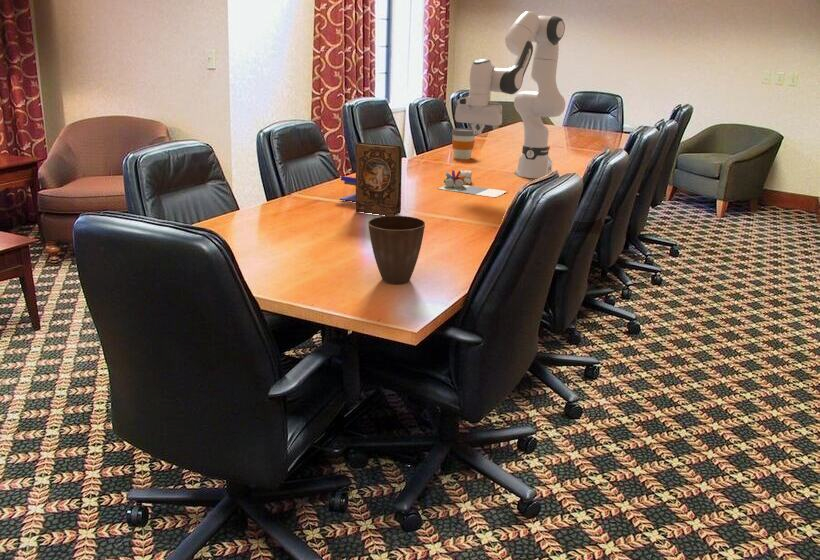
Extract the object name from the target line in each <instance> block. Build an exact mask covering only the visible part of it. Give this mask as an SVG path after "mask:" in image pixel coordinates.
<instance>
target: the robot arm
mask: <svg viewBox="0 0 820 560" xmlns="http://www.w3.org/2000/svg"><path fill="white" fill-rule="evenodd" d="M565 29H566V25H565V22H564V20H563V19H562V18H561V17H559V16H556V15H554V16H550V15H545V14H544V15H537V13H536V12H533V11H530V10H528V11H524V12H522V13H521V14H520V15H519V16H518V18H516V20H515V21H514V22H513V23H512V25H511V27H510V28H509V29H508V31H507V32H506V35H505V37H504V38H505V39H504V40H505V46H506V48H507V50H508V51H510V53H511V54H513V55H514V56H517V57H516V60H515V62H514V64H513V66H512V67H509V68H508V67H505V68H504V67H496V66H494V65H493V64H492V61H491V59H487V58H479V59H478V58H477V59H475V60H473V61H472V63H471V66H470V72H469V92H468V95H467V96H464V97H461V98H458V99H457V101H456V102H457V105H456V107H455V112H454V113H455V114H454V120H455V122H457V123H465V124H470V126H471V129H473V131H474V133H473V134H474V135H475V136H481V135H482V133H483V130H484V129H485V125H486V126H495V127H496V126H497V127H499V126H501V125H502V124H503V104H502V103H500V101H499V102H498V101H497V102H495V101H491V96H492V95H491V92H493V93H504V94H507V95H514V94H516V95H515V97H514V100H513V106H514V109H515V111H516V112H517V113H518V114H519V116H520V118H521V119H522V123H523V128H524V129H523V131H524V133H523V135H524V136H523V145H522V148H521V150H522V151H521V155H520V156H519V158H518V163H517V170H516V171H514V172H513V173H514V174H515V175H517V176H518V177H522V178H527V179H541V178H540V177H543V176H545V175H547V174H549V173H550V172H552V171H554V170H553V160H552V159H551V157H550V156H549V152H550V150H551V147H550V145H549V134H550V131H549V128H548V127H547V126H546V125H545V124H544V122H543V120H542V117H543V118H556V117H560V116H561V115H562V114H563V113H564V111H565V109H566V99H565V98H564V96H563V95H562V94H561V92H560V91H559V88H558V85H557V70H558V69H557V68H558V60H559V50H560V49H559V45H560V44H559V42H560V41H561V40H562V38H563V36H564V34H565ZM533 43H536V44H535V47H534V45H533ZM533 52H534V53H533ZM532 56H533V58H532ZM531 59H532V64H531V72H530V77H531V78H532V80H533V81H534V82H535V83H536V84H537V87H538V91H537V90H523V91H519V90H520V89H521V88H522V85H523V81H524V77H525V74H526V71H527V69H528V67H529V64H530V61H531ZM518 91H519V92H518ZM477 125H478V126H479V129H478V130H477Z"/></svg>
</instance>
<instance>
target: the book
mask: <svg viewBox="0 0 820 560" xmlns="http://www.w3.org/2000/svg"><path fill="white" fill-rule="evenodd" d="M402 159H403V147H402V146H401V145H395V144H384V143H372V142H371V143H370V142H357V143H355V178H356V186H355V193H356V203H355V213H356V212H364V213H372V214H379V215H385V216H397V215H399V214H400V213H401V209H402V177H403V176H402V171H403V170H402V169H403V168H402V165H403V160H402Z"/></svg>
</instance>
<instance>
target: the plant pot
mask: <svg viewBox="0 0 820 560" xmlns="http://www.w3.org/2000/svg"><path fill="white" fill-rule="evenodd" d="M367 225H368V231H369V239H370V243H371V248H372V252H373V256H374V259H375V263H376V266H377V268H378V272H379V275H380V277H381V279H382V281H383V282H384V281H385V282H384V283H386V282H387V283H386V284H389V283H391V284H392V285H403V284H407V283H408V282H410V280H411V278H412V276H413V274H414V273H413V272H414V270H415V267H416V264H417V262H418V259H419V255H420V251H421V247H422V244H423V237H424V233H425V228H426V227H425V226H426V222H425V221H424V220H423V219H420V218H418V217H413V216H408V215H407V216H406V215H395V216H377V217H374V218H371V219H370V220H368V223H367ZM391 284H390V285H391Z"/></svg>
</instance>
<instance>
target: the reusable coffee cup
mask: <svg viewBox="0 0 820 560" xmlns="http://www.w3.org/2000/svg"><path fill="white" fill-rule="evenodd" d="M473 133H474V131H473V129H472V128H469V127H467V128H466V127H456V128H455V127H454V128H452V131H451V136H452V139H451V143H452V150H453V158H454V159H457V158H458V159H457V160H469V159H472V152H473V149H474V146H475V136H476V135H474V134H473Z"/></svg>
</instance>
